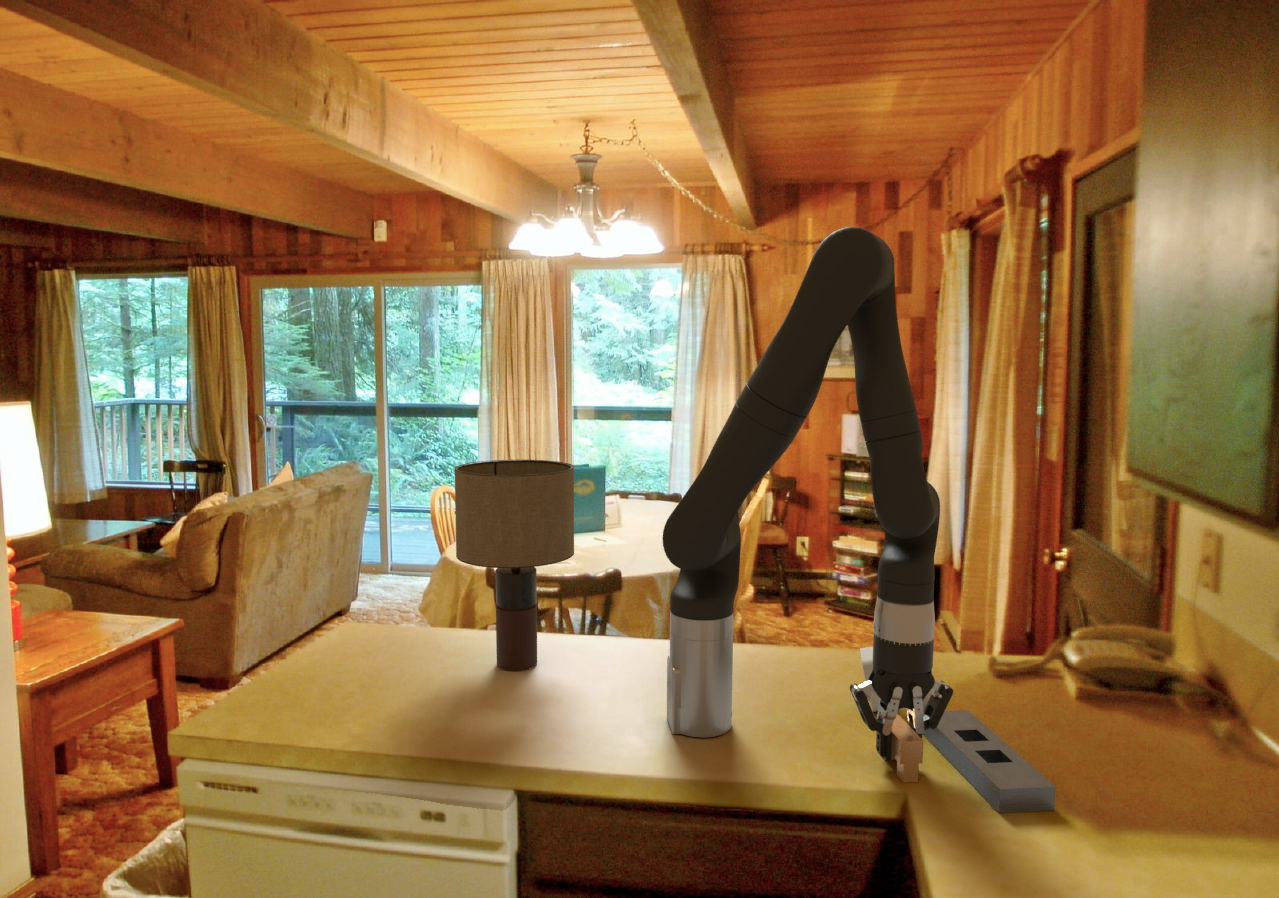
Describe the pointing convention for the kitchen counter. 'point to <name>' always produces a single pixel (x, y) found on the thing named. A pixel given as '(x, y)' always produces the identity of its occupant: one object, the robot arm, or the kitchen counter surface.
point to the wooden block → (906, 750)
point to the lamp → (515, 539)
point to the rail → (991, 764)
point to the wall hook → (868, 667)
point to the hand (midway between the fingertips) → (898, 757)
